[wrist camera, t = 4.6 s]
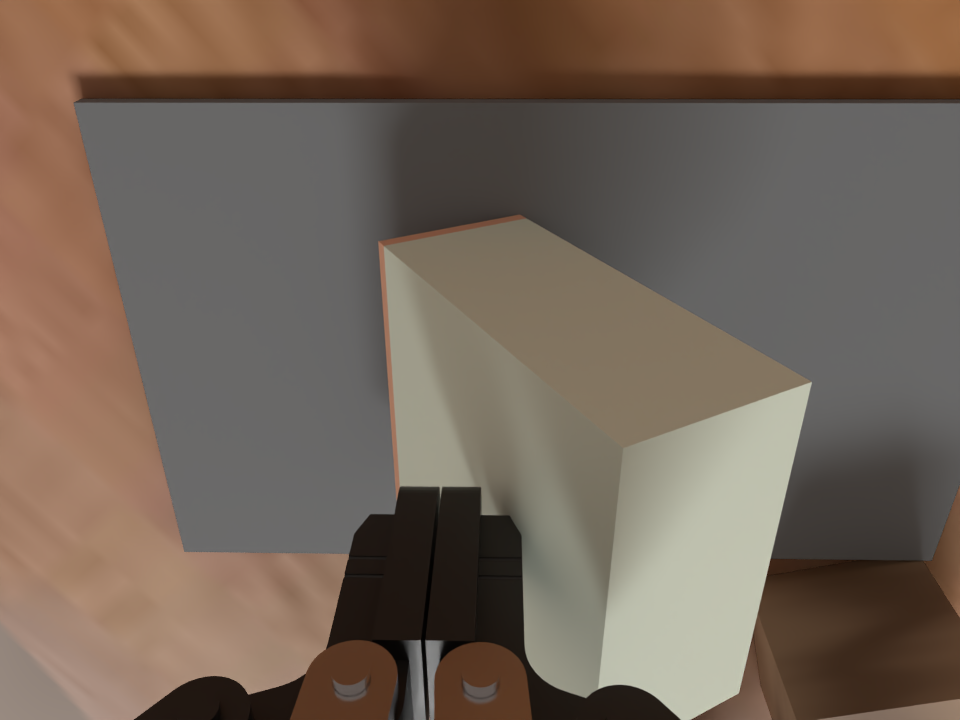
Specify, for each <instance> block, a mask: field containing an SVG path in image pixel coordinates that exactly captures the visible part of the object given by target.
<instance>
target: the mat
mask: <svg viewBox="0 0 960 720" xmlns="http://www.w3.org/2000/svg"><path fill="white" fill-rule="evenodd" d="M74 106H75V110H76V115H77V119H78V123H79V127H80V131H81V135H82V139H83V143H84V147H85V151H86V155H87V159H88V163H89V167H90V171H91V175H92V179H93V183H94V187H95V191H96V196H97V200H98V204H99V208H100V212H101V216H102V220H103V224H104V228H105V232H106V236H107V240H108V244H109V248H110V252H111V256H112V260H113V264H114V268H115V272H116V276H117V281H118V285H119V289H120V293H121V297H122V301H123V305H124V309H125V313H126V317H127V321H128V325H129V329H130V333H131V337H132V341H133V345H134V349H135V353H136V357H137V361H138V366H139V370H140V374H141V378H142V382H143V386H144V390H145V394H146V398H147V402H148V406H149V410H150V414H151V418H152V422H153V426H154V430H155V434H156V438H157V442H158V447H159V451H160V455H161V459H162V463H163V467H164V471H165V475H166V479H167V483H168V487H169V491H170V495H171V499H172V503H173V507H174V511H175V515H176V519H177V523H178V527H179V532H180V536H181V540H182V544H183V548H184V552H249V553H333V554H349V553H350V549H351V545H352V541H353V537H354V533H355V532H356V531H357V529H358V528H359V527H360V526H361V525H362V523H363V522H364V521H365V520H366V519H367V517H368V516H369V515H370V514H394V513H395V508H396V502H397V500H396V487H395V473H394V459H393V445H392V430H391V416H390V402H389V388H388V374H387V359H386V345H385V331H384V317H383V302H382V288H381V274H380V260H379V245H378V241H383V240H388V239H393V238H398V237H404V236H409V235H414V234H419V233H425V232H430V231H435V230H441V229H446V228H451V227H456V226H462V225H467V224H472V223H478V222H483V221H488V220H493V219H499V218H504V217H509V216H514V215H521V216H523V217H525V218H527V219H528V220H530V221H532V222H534V223H535V224H537V225H539V226H541V227H542V228H544V229H546V230H548V231H549V232H551V233H553V234H555V235H556V236H558V237H560V238H562V239H563V240H565V241H567V242H569V243H570V244H572V245H574V246H576V247H577V248H579V249H581V250H583V251H584V252H586V253H588V254H590V255H591V256H593V257H595V258H597V259H598V260H600V261H602V262H604V263H605V264H607V265H609V266H611V267H612V268H614V269H616V270H618V271H619V272H621V273H623V274H624V275H626V276H628V277H630V278H631V279H633V280H635V281H637V282H638V283H640V284H642V285H644V286H645V287H647V288H649V289H651V290H652V291H654V292H656V293H658V294H659V295H661V296H663V297H665V298H666V299H668V300H670V301H672V302H673V303H675V304H677V305H679V306H680V307H682V308H684V309H686V310H687V311H689V312H691V313H693V314H694V315H696V316H698V317H700V318H701V319H703V320H705V321H707V322H708V323H710V324H712V325H714V326H715V327H717V328H719V329H721V330H722V331H724V332H726V333H728V334H729V335H731V336H733V337H735V338H736V339H738V340H740V341H742V342H743V343H745V344H747V345H749V346H750V347H752V348H754V349H755V350H757V351H759V352H761V353H762V354H764V355H766V356H768V357H769V358H771V359H773V360H775V361H776V362H778V363H780V364H782V365H783V366H785V367H787V368H789V369H790V370H792V371H794V372H796V373H797V374H799V375H801V376H803V377H804V378H806V379H808V380H810V381H811V382H812V384H811V388H810V393H809V397H808V401H807V406H806V410H805V414H804V418H803V423H802V427H801V431H800V435H799V440H798V444H797V448H796V452H795V457H794V461H793V465H792V469H791V474H790V478H789V482H788V486H787V491H786V495H785V499H784V503H783V508H782V512H781V516H780V520H779V525H778V529H777V533H776V537H775V542H774V546H773V550H772V554H771V559H835V560H919V561H932V559H933V556H934V553H935V550H936V548H937V545H938V542H939V540H940V537H941V534H942V531H943V529H944V526H945V523H946V521H947V518H948V515H949V512H950V510H951V507H952V504H953V502H954V499H955V496H956V493H957V491H958V488H959V485H960V99H80V100H78V101H76V102H74Z"/></svg>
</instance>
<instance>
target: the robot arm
mask: <svg viewBox="0 0 960 720" xmlns="http://www.w3.org/2000/svg"><path fill="white" fill-rule="evenodd" d="M429 717H430V720H681V719H680V718H678V717H677V716H676V715H675V714H674V713H673V712H672V711H671V710H670V709H669V708H668V707H666V706H665V705H664V704H663V703H662V702H661V701H660V700H659V699H657V698H656V697H655V696H654V695H652V694H650V693H648V692H647V691H645V690H642V689H640V688H637V687H633V686H628V685H611V686H605V687H603V688H600V689H598V690H596V691H594V692H592V693H591V694H590V695H589V696H588V697H587V698H585V697H582V696H578V695H575V694H572V693H569V692H566V691H563V690H561V689H558V688H556V687H554V686H552V685H550V684H549V683H547V682H546V681H544V680H543V679H542V678H541V677H540V676H539V675H538V674H537V673H536V672H535V671H534V669H533V668H532V667H531V665H530V663H529V661H528V659H527V656H526V653H525V641H524V606H523V570H522V535H521V533H520V532H519V530H518V529H517V527H516V525H515V524H514V522H513V520H512V519H511V517H510V515H482V495H481V487H444V486H443V487H442V491H441V497H440V487H428V486H400V488H399V492H398V497H397V502H396V508H395V513H394V514H370V515H369V516H368V517H367V519H366V520H365V521H364V522H363V523H362V525H361V526H360V527H359V528H358V529H357V531H356V532H355V533H354V537H353V541H352V545H351V549H350V553H349V560H348V562H347V566H346V570H345V578H343V583H342V587H341V591H340V595H339V599H338V603H337V608H336V612H335V616H334V620H333V624H332V629H331V633H330V637H329V641H328V645H327V648H326V650H324V651H323V652H322V653H320V654H319V655H318V656H317V657H316V658H315V659H314V660H313V662H312V663H311V665H310V666H309V668H308V670H307V672H306V674H305V675H303V676H302V677H300V678H298V679H297V680H295V681H293V682H290V683H288V684H285V685H282V686H279V687H276V688H272V689H268V690H265V691H261V692H257V693H253V694H250V695H248V694H247V692H246V690H245V689H244V688H243V687H242V685H240V684H239V683H238V682H236V681H234V680H232V679H230V678H226V677H220V676H210V677H203V678H198V679H195V680H192V681H189V682H187V683H185V684H183V685H181V686H180V687H178V688H177V689H175V690H173V691H172V692H171V693H169V694H168V695H167V696H165V697H164V698H163V699H161V700H160V701H159V702H157V703H156V704H154V705H153V706H152V707H150V708H149V709H148V710H146V711H145V712H144V713H142V714H141V715H140V716H138V717H137V718H136V719H134V720H429Z"/></svg>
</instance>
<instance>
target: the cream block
mask: <svg viewBox="0 0 960 720" xmlns="http://www.w3.org/2000/svg"><path fill="white" fill-rule="evenodd" d="M378 245H379V260H380V274H381V288H382V302H383V317H384V331H385V345H386V359H387V374H388V388H389V402H390V416H391V430H392V445H393V459H394V473H395V487H396V500H397V497H398V492H399V488H400V486H428V487H440V497H441V491H442V487H443V486H444V487H481V495H482V515H510V517H511V519H512V520H513V522H514V524H515V525H516V527H517V529H518V530H519V532H520V533H521V535H522V570H523V606H524V641H525V653H526V656H527V659H528V661H529V663H530V665H531V667H532V668H533V669H534V671H535V672H536V673H537V674H538V675H539V676H540V677H541V678H542V679H543V680H544V681H546V682H547V683H549V684H550V685H552V686H554V687H556V688H558V689H561V690H563V691H566V692H569V693H572V694H575V695H578V696H582V697H585V698H587V697H588V696H589V695H590V694H591V693H592V692H594V691H596V690H598V689H600V688H603V687H605V686H611V685H628V686H633V687H637V688H640V689H642V690H645V691H647V692H648V693H650V694H652V695H654V696H655V697H656V698H657V699H659V700H660V701H661V702H662V703H663V704H664V705H665V706H666V707H668V708H669V709H670V710H671V711H672V712H673V713H674V714H675V715H676V716H677V717H678V718H680V719H681V720H691V719H693V718H695V717H696V716H698V715H700V714H702V713H704V712H706V711H707V710H709V709H711V708H713V707H715V706H716V705H718V704H720V703H722V702H724V701H726V700H727V699H729V698H731V697H733V696H735V695H737V694H738V693H739V691H740V686H741V682H742V678H743V674H744V669H745V665H746V661H747V657H748V652H749V648H750V644H751V640H752V635H753V631H754V627H755V623H756V618H757V614H758V610H759V606H760V601H761V597H762V593H763V589H764V584H765V580H766V576H767V571H768V567H769V563H770V559H771V554H772V550H773V546H774V542H775V537H776V533H777V529H778V525H779V520H780V516H781V512H782V508H783V503H784V499H785V495H786V491H787V486H788V482H789V478H790V474H791V469H792V465H793V461H794V457H795V452H796V448H797V444H798V440H799V435H800V431H801V427H802V423H803V418H804V414H805V410H806V406H807V401H808V397H809V393H810V388H811V384H812V382H811V381H810V380H808V379H806V378H804V377H803V376H801V375H799V374H797V373H796V372H794V371H792V370H790V369H789V368H787V367H785V366H783V365H782V364H780V363H778V362H776V361H775V360H773V359H771V358H769V357H768V356H766V355H764V354H762V353H761V352H759V351H757V350H755V349H754V348H752V347H750V346H749V345H747V344H745V343H743V342H742V341H740V340H738V339H736V338H735V337H733V336H731V335H729V334H728V333H726V332H724V331H722V330H721V329H719V328H717V327H715V326H714V325H712V324H710V323H708V322H707V321H705V320H703V319H701V318H700V317H698V316H696V315H694V314H693V313H691V312H689V311H687V310H686V309H684V308H682V307H680V306H679V305H677V304H675V303H673V302H672V301H670V300H668V299H666V298H665V297H663V296H661V295H659V294H658V293H656V292H654V291H652V290H651V289H649V288H647V287H645V286H644V285H642V284H640V283H638V282H637V281H635V280H633V279H631V278H630V277H628V276H626V275H624V274H623V273H621V272H619V271H618V270H616V269H614V268H612V267H611V266H609V265H607V264H605V263H604V262H602V261H600V260H598V259H597V258H595V257H593V256H591V255H590V254H588V253H586V252H584V251H583V250H581V249H579V248H577V247H576V246H574V245H572V244H570V243H569V242H567V241H565V240H563V239H562V238H560V237H558V236H556V235H555V234H553V233H551V232H549V231H548V230H546V229H544V228H542V227H541V226H539V225H537V224H535V223H534V222H532V221H530V220H528V219H527V218H525V217H523V216H521V215H514V216H509V217H504V218H499V219H493V220H488V221H483V222H478V223H472V224H467V225H462V226H456V227H451V228H446V229H441V230H435V231H430V232H425V233H419V234H414V235H409V236H404V237H398V238H393V239H388V240H383V241H378Z"/></svg>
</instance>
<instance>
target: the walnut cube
mask: <svg viewBox="0 0 960 720" xmlns="http://www.w3.org/2000/svg"><path fill="white" fill-rule="evenodd" d="M753 635H754V642H755V649H756V656H757V663H758V670H759V677H760V684H761V688H762V691H763V694H764V697H765V700H766V703H767V706H768V709H769V712H770V715H771V718H772V720H960V618H959V616H958V615H957V613H956V612H955V610H954V608H953V607H952V605H951V604H950V602H949V601H948V599H947V598H946V596H945V594H944V593H943V591H942V590H941V588H940V587H939V585H938V584H937V582H936V580H935V579H934V577H933V576H932V574H931V573H930V571H929V570H928V568H927V566H926V565H925V563H924V562H923V561H919V560H856V561H851V562H845V563H839V564H833V565H828V566H822V567H816V568H810V569H804V570H799V571H793V572H787V573H781V574H776V575H770V576H766V580H765V584H764V589H763V593H762V597H761V601H760V606H759V610H758V614H757V618H756V623H755V627H754V631H753Z"/></svg>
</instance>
